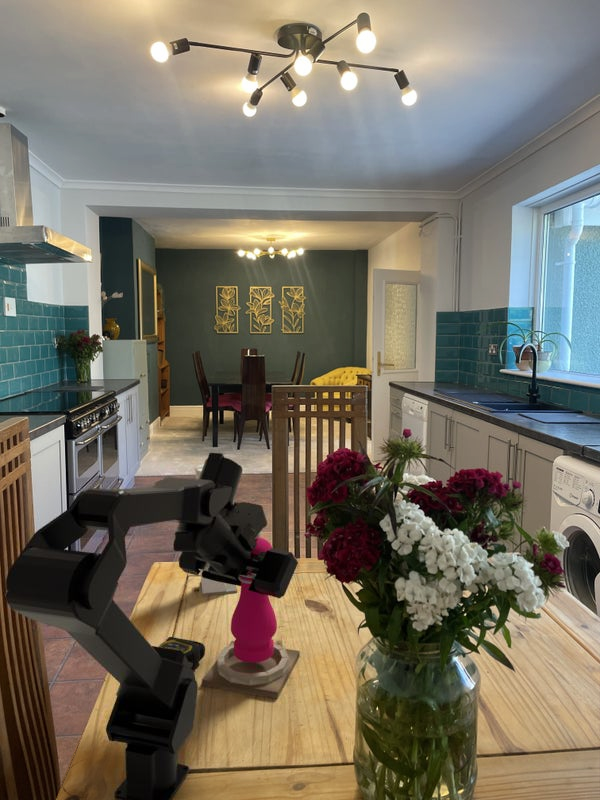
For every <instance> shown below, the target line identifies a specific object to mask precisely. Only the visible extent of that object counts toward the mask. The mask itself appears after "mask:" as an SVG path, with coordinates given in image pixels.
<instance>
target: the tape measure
mask: <svg viewBox="0 0 600 800" xmlns="http://www.w3.org/2000/svg"><path fill="white" fill-rule="evenodd" d="M165 640H166V641H162V643H160V644H159V645H158V647H162V648H169V649H175V650H181V651H182V652H183V653H184V654H185V656H186V658H187V660H188V662H191V663H193V666H192V667H191V669H192V671H194V669H196V668H197V666H198V665H199V663H200V661H201V660H202V659H203V658H204V657H205V656H206V646H205V645H204V644H203V643H202V642H199V641H195V640H191V639H185V638H178V637H172V636H169V637H168V638H166V639H165Z"/></svg>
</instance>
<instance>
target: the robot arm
mask: <svg viewBox="0 0 600 800" xmlns="http://www.w3.org/2000/svg"><path fill="white" fill-rule="evenodd" d="M203 464H204V466H203V467H202V468H203V469H202V468H201V469H202V471H201V474H200V477H199V479H196V478H187V477H185V478H184V477H173V476H172V477H171V476H169V477H165V478H163V479H160V480H158V481H156V482H155V483H154V486H152V487H138V488H137V487H134V488H121V489H120V488H116V489H107V488H94V487H90V488H88V489H85V490H82V491H80V492H79V493H78V494H77V495H76V496H75V499H74V500H73V501H72V503H71V504H70V506H69V507H68V508H67V509H66V510H64V511H63V512H62V513H61V514H59V515H58V516H56V517H55V518H53V519H52V520H50V521H48V523H46V524H45V525H44V526H42V527H40V528H39V529H38V530H37V531H35V532H34V534H33V535H32V537H31V538H30V539H29V541H28V542H27V543H26V545H25V547H24V548H23V549H22V550H21V552H20V553H19V555H18V556H17V557H16V559H15V561H14V562H13V563H12V565H11V566H10V568H9V570H8V572H7V574H6V579H5V586H6V588H5V590H6V591H7V592H6V593H5V599H6V603H7V604H8V606H9V608H10V609H11V610H13V611H14V612H16V613H18V614H20V615H22V616H23V617H26V618H29V619H30V620H31V621H35V622H38V623H42V624H44V625H48V626H51V627H54V628H57V629H60V630H63V631H65V632H66V633H67V634H68V635H69V636H71V637H72V638H73V640H75V641H76V643H78V645H80V646H81V647H82V648H83V649H84V651H86V652H87V653H88V654H89V655H90V656H91V657H92V658H93V659H94V660H95V661H97V663H98V665H99V664H100V666H101V667H102V668H104V669H105V671H107V673H109V674H110V675H111V676H112V678H114V680H116V681H117V682H118V683H119V686H118V688H117V691H116V693H115V695H116V698H115V701H114V704H113V707H112V710H111V713H110V715H109V718H108V721H107V724H106V726H105V733H106V735H107V738H108V741H109V742H119V743H124V744H125V745H126V747H125V749H124V751H125V752H124V755H125V757H124V760H125V761H124V762H125V778H124V779H123V781H122V782H121V783H120V784H119V786H118V787H117V788H116V790H115V791H114V799H116V800H172V799H173V798H174V796H175V794H176V792H177V791H178V790H179V788H180V787H181V785H182V784H183V782H184V780H185V778H186V777H187V776H188V774H189V773H190V766H188V765H185V764H181V763H178V759H179V758H178V751H179V749H180V748H181V747H182V746H183V744H184V743H185V741H186V739H187V738H188V737H189V736H190V734H191V732H193V730H194V723H195V717H196V716H195V715H196V706H197V698H198V690H199V689H198V685H199V684H198V682H197V680H196V674H195V673H194V670H192V669H191V667H192V666H193V663H191V662H188V660H187V658H186V656H185V654H184V653H183V652H182V651H181V650H175V649H169V648H162V647H159V646H155V645H154V646H153V645H151V644H150V643H149V640H147V639H146V637H145V636H144V635H143V634H142V632H141V631H140V630H139V628H137V627H136V626H135V624H134V623H133V622H132V621H131V620H130V618H129V617H128V616H127V615H126V614H125V612H124V611H123V610H122V609H121V608H120V606H119V605H118V604H117V603H116V601H114V597H115V593H116V591H117V588H118V586H119V583H118V582H119V580H120V578H121V576H122V574H123V573H124V570H125V568H126V566H127V549H126V536H127V534H128V532H129V531H130V530H131V528H134V527H141V526H147V525H153V524H158V523H164V522H167V523H176V524H177V523H178V525H177V528H176V530H177V531H175V533H174V536H175V537H174V540H173V543H172V544H173V546H172V547H173V551H174V552H181V554H180V556H179V557H178V567H179V568H180V569H181V570H182V571H183V572H184V573H186V574H190V575H194V576H199V575H200V569H201V570H203V572H202V577H203V578H206V579H209V580H213V581H217V582H222V583H227V584H232V585H236V587H237V586H239V587H241V581H240V580H239V579H238V577H239V575H241V576H245V577H246V576H248V574H249V570H250V571H252V572H251V574H252V575H254V577H253V581H252V583H251V585H250V587H249V589H248V590H249V591H252V592H256V593H260V594H266V595H268V597H273V598H277V599H280V598H282V597H284V596H285V594H286V592H287V589H288V587H289V585H290V584H291V583H290V582H291V581H292V578H293V576H294V574H295V571H296V569H297V567H298V565H299V562H298V559H297V558H296V556H295V555H294V554H293V552H292V551H288V550H282V549H279V548H275V547H274V548H273V547H272V548H271V549H269V550H267V552H264V551H262V552H260V553H259V554H253V553H250V551H251V550H253V551H254V549H255V547H256V545H257V542H256V541H255V540H254V538H255V537H256V536H257V535H258V534H259V533H260V534H261V531H263V529H264V528H266V527H267V526H268V521H267V517H266V513H265V511H264V508H263V505H262V504H256V503H251V502H247V501H246V502H245V501H242V502H236V501H235V502H234V499H235V496H236V493H237V490H238V486H239V484H240V481H241V477H242V474H243V467H242V465H240V464H239V463H237V462H236V461H235V460H233V459H231V458H228V457H226V456H224V454H223V453H222V452H209V453H208V456H207V459H205V460H204V463H203ZM88 530H98V531H106V532H108V534H107V535H108V541H107V543H106V544H105V547H103V548H104V549H103V550H102V552H101V553H98V552H90V551H82V550H81V551H80V550H73V549H71V550H70V549H67V548H69V547H70V546H71V545H73V544H74V543H75V542H77V541H78V540H80V539H81V538H82V537H84V536H85V535H86V533H87V532H88ZM258 561H259V562H258Z"/></svg>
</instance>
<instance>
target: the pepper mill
mask: <svg viewBox="0 0 600 800" xmlns="http://www.w3.org/2000/svg"><path fill="white" fill-rule="evenodd" d="M260 536H261V532H260V533H259V534H258V535H257V536H256V537H255V538H254V540H255V541H256V542H257V545H256V547H255V549H254V551H253V550H251V551H250V553H253V554H259V553H260V552H262V551H264V552H267V550H269V549H271V548H273V545H272V544H271V543H270V542H269V541H268V540H267V539H265V538H263V537H260ZM258 562H259V561H258ZM251 572H252V571H250V570H249V574H248V576H246V577H245V576H241V575H239V577H238V579H239V580H240V581H241V586H240V593H239V598H238V601H237V604H236V607H235V609H234V611H233V614H232V617H231V621H230V632H231V634H232V636H233V638H234V640H233V641H234V655H235V657H236V658H237V659H239V660H241V661H244V662H250V663H255V662H262V661H265V660H267V659H269V658H270V657H271V656H272V655H273V652H274V643H275V641H274V638H273V637H274V636H275V634H276V632H277V629H278V624H277V617H276V613H275V610H274V608H273V606H272V604H271V601H270V598H269V597H270V596H269V595H266V594H260V593H256V592H252V591H249V590H248V589H249V587H250V585H251V583H252V581H253V577H254V575H252V574H251Z"/></svg>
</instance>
